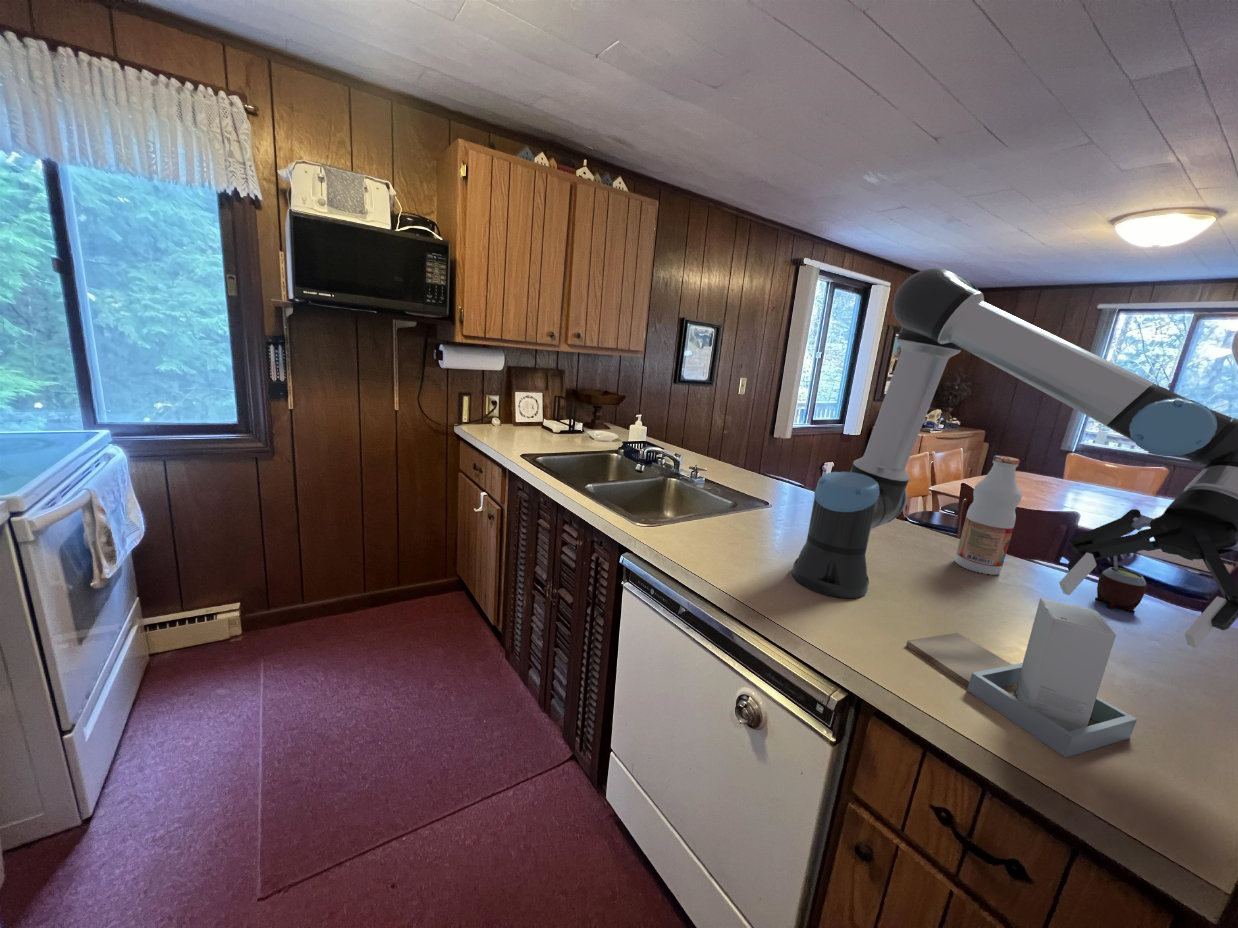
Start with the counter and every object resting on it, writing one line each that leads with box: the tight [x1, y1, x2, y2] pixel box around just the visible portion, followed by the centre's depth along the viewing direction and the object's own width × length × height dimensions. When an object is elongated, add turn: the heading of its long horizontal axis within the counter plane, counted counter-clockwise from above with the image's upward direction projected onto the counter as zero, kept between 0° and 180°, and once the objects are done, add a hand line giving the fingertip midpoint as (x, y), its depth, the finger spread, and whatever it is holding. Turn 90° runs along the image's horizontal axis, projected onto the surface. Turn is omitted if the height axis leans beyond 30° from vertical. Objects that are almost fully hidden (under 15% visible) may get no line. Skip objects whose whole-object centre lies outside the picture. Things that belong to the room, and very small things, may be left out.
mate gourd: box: [1094, 555, 1147, 614], centre depth 103 cm, size 8×8×15 cm
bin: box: [966, 662, 1138, 759], centre depth 68 cm, size 13×14×3 cm
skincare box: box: [1014, 597, 1117, 732], centre depth 67 cm, size 8×7×16 cm
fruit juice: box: [954, 455, 1022, 576], centre depth 117 cm, size 9×9×28 cm
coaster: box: [905, 632, 1013, 688], centre depth 80 cm, size 11×12×1 cm
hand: (1121, 612), depth 67 cm, fingers open, 13 cm apart
